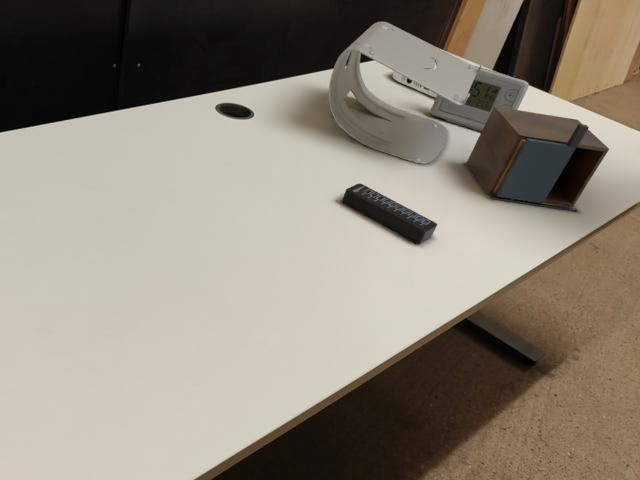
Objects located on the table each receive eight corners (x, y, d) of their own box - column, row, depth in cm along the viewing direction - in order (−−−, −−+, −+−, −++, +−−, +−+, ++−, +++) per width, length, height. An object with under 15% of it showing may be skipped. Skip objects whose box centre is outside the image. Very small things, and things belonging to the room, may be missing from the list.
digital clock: (424, 114, 143) (446, 63, 135) (437, 105, 148) (459, 55, 141) (499, 143, 137) (525, 91, 130) (509, 131, 143) (535, 81, 136)
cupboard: (576, 211, 118) (614, 153, 111) (491, 199, 117) (523, 139, 109) (545, 175, 128) (577, 119, 121) (466, 163, 127) (493, 106, 119)
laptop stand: (346, 93, 146) (371, 16, 135) (454, 127, 140) (489, 50, 129) (313, 130, 128) (339, 45, 117) (435, 170, 122) (474, 85, 111)
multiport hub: (418, 245, 101) (424, 232, 99) (340, 202, 108) (345, 189, 106) (432, 236, 103) (438, 223, 102) (355, 195, 110) (359, 182, 109)
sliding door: (543, 203, 117) (589, 127, 108) (498, 197, 116) (540, 119, 107) (541, 201, 118) (586, 124, 108) (495, 194, 117) (537, 117, 108)
